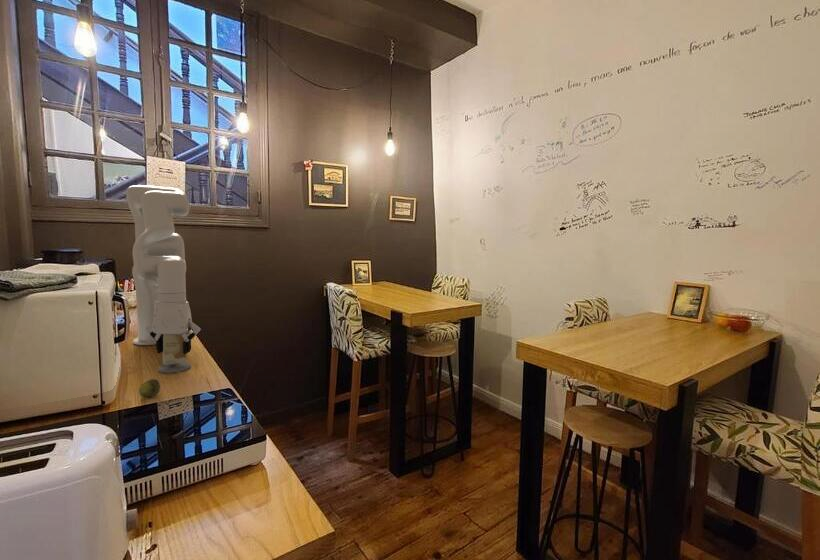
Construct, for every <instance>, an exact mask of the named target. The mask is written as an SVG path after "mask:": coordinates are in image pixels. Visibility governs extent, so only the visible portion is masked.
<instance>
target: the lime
mask: <svg viewBox="0 0 820 560" xmlns="http://www.w3.org/2000/svg"><path fill="white" fill-rule="evenodd" d="M160 391H161V384H160V381H159V380H158V379H154V378H150V379H148V380H146V381H144V382H143V384H141V385H140V387H139V389H138V395H139V396H140V397H142V398H146V399H151V398H153V397H155V396H157V395H158V394H159V393H160Z"/></svg>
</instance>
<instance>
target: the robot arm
mask: <svg viewBox="0 0 820 560" xmlns="http://www.w3.org/2000/svg"><path fill="white" fill-rule="evenodd" d="M125 195H126V196H125V197H126V202H127V205H128V206H127V207H128V208H129V210H130V212H131V215H132V217H133V220H134V234H135V242H134V244H133V247H132V260H133V266H132V269H131V273H132V277H133V283H134V288H135V289H134V290H135V300H136V301H135V302H136V321H137V323H136V324H137V337H136V338H134V339H133V340H132V342H133V344H134V345H137V346H156V347H155V348H156V353H157V354H162V352H163V334H167V335H182V337H183V338H184V340H185V341H184V342H183V354H186V355H187V354H188V353H191V350H192V340H193V339H194V338H195V337H196V336H197V334H198V333H199V332H200V331H201V327H199V326H198V325H197V324H196V323H194V322H193V320H192V313H191V307H190V304H189V301H187V289H186V288H187V285H186V284H187V283H186V281H187V280H186V272H187V263H186V254H185V253H186V251H185V250H186V249H185V248H186V247H185V242H184V239H183V237H182V236H181V235H180V234H179V233H177V232H176V233H175V231H176V229H175V224H174V218H173V217H186V216H187V215H189V213H190V210H191V209H190V202H189V199H188V196H187V194H185V192H184V191H182V190H180V189H179V188H176V187H175V188H174V187H167V186H165V187H164V186H155V185H147V184H146V185H144V184H143V185H142V184H137V185H130V186H129V187H127V188H126V192H125ZM192 330H193V331H192ZM191 331H192V332H191Z"/></svg>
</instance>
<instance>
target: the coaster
mask: <svg viewBox="0 0 820 560" xmlns="http://www.w3.org/2000/svg"><path fill="white" fill-rule="evenodd" d="M191 368H192V367H191V363H189V362H187V361H186V362H185V363H176V364H169V365H164V364H162V365H160V366H158V368H157V371H158V373H159V374H163V375H165V374H167V375H172V374H173V375H174V374H178V373H183V372H187V371H189V370H190V369H191Z"/></svg>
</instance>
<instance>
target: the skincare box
mask: <svg viewBox="0 0 820 560" xmlns="http://www.w3.org/2000/svg"><path fill="white" fill-rule="evenodd" d="M184 341H185V340H184V338H183V337H182V335H167V334H163V353H162V364H163V363H164V364H163V365H169V364H176V363H185V362H187V354H183V342H184Z"/></svg>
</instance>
